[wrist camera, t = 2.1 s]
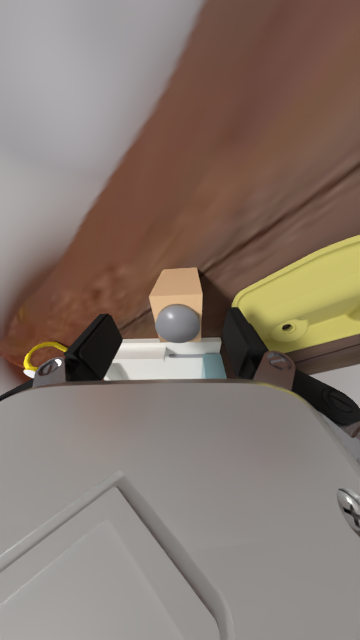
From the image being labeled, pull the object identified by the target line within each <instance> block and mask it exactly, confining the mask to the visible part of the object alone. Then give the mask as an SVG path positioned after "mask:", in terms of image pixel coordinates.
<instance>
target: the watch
mask: <svg viewBox="0 0 360 640" xmlns="http://www.w3.org/2000/svg"><path fill="white" fill-rule="evenodd" d="M44 346H54V347H56V348H58V349H60V350H62V351H64V352H66V351H67V349H68V348H66V347H65V346H63V345H61V344H59V343H57V342H45V343H42V344H39V345H37V346H35V347H34V348H33V349H32V350H31V351H30V352H29V353H28V354H27V355H26V357H25V361H24V366H25V368H26V369H25V370H24V373H25V374H26V375H28V376H29V377H32V378H34V375H35V372H36V371H37V369H38V368H37V367H33V366H32V365H31V363H30V358H31V354H32V353H33V352H34V351H35V350H37V349H39V348H42V347H44Z"/></svg>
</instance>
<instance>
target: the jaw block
mask: <svg viewBox="0 0 360 640" xmlns="http://www.w3.org/2000/svg"><path fill="white" fill-rule="evenodd" d="M202 297H203V294H202V289H201V285H200V280H199V275H198V271H197V268H182V269H166V270H163V271H162V273H161V275H160V276H159V278H158V280H157V282H156V284H155V286H154V288H153V290H152V292H151V294H150V296H149V299H150V303H151V307H152V311H153V315H154V319H155V323H156V324H155V327H156V331H157V333H158V336H159V340H160V342H172V343H185V342H201V323H202Z"/></svg>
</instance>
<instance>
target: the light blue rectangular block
mask: <svg viewBox="0 0 360 640" xmlns="http://www.w3.org/2000/svg"><path fill="white" fill-rule="evenodd" d="M201 379H227V377H226V373H225V369H224V365H223V361H222V357H221V354H203V357H202V375H201Z"/></svg>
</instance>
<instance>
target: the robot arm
mask: <svg viewBox="0 0 360 640" xmlns="http://www.w3.org/2000/svg"><path fill="white" fill-rule="evenodd" d="M222 337H223V340H224V343H225V346H226V349H227V352H228V355H229V358H230V361H231V364H232V366H233V369H234V372H235V375H236V376H238V377H239V379H149V380H105V381H101V380H102V379H103V378H104V377H105V375H106V373H107V371H108V370H109V368H110V366H111V364H112V362H113V360H114V358H115V356H116V354H117V352H118V350H119V348H120V346H121V344H122V341H123V339H122V337H121V335H120V333H119V331H118V328H117V326H116V324H115V322H114V320H113V318H112V316H111V315H109V314H100V315H98V317H97V318H96V319H95V320H94V321H93V322H92V323H91V324H90V325H89V326H88V328H87V329H86V330H85V331H84V332H83V333H82V334H81V335H80V336H79V337H78V338H77V340H76V341H75V342H74V343H73V344H72V345H71V346H70V347H69V348H68V349H67V351H66V352H65V353H64V355H65V356H66V358H65V359H63V358H62V357H57V358H53V359H51V360H49V361H47V362H45V363H44V364H42V365H41V366H40V367H39V368H38V369H37V371H36V372H35V375H34V378H33V379H31V380H29V381H27V382H25V383H24V384H22V385H20V386H18V387H16V388H14V389H12V390H10V391H8V392H6V393H5V394H3V395H1V396H0V640H360V408H359V407H358V405H357V404H356V403H355V402H354V401H353V400H352V399H351V398H349V397H348V396H347V395H345V394H344V393H342V392H340V391H338V390H336V389H335V388H333V387H331V386H329V385H327V384H325V383H322V382H321V381H319V380H317V379H315V378H313V377H311V376H309V375H307V374H305V373H303V372H301V371H299V370H297V369H296V368H295V364H294V362H293V361H292V359H291V358H290V357H288V356H287V355H285V354H283V353H281V352H278V351H273V350H272V351H269V349H268V348H267V347H266V345H265V344H264V342H263V341H262V339H261V338H260V336H259V335H258V333H257V332H256V330H255V329H254V327H253V326H252V325H251V324H250V323H248V321H247V320H246V318H245V317H244V315H243V314H242V312H241V311H240V309H239V308H238V307H230V308H229V309H227V312H226V317H225V323H224V329H223V334H222Z"/></svg>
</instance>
